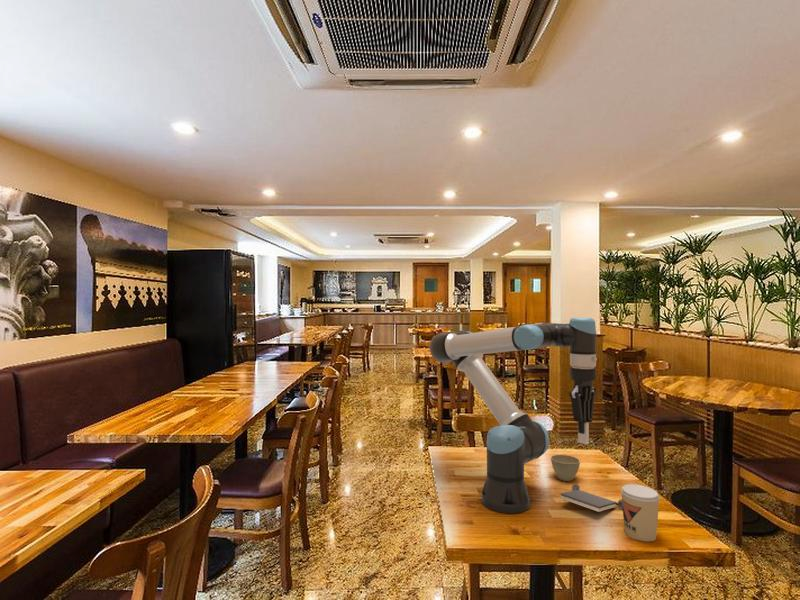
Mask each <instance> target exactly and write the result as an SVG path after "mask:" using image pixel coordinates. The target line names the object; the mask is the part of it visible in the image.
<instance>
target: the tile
mask: <svg viewBox="0 0 800 600" xmlns="http://www.w3.org/2000/svg"><path fill="white" fill-rule="evenodd" d="M560 499H561V500H564V501H567V502H570V503H573V504H576V505H578V506H581V507H584V508H587V509H590V510H592V511H595V512H598V513H599V512H602V511H606V510H609V509H614V508H616V506H617V505H616V503H617V502H616V501H614V500H611V499H609V498H608V499H607V498H605V497H602V496H599V495H596V494H593V493H589V492H588V491H583V490H581V489H580V490H575V491H572V490H570V491H567V492H561V493H560Z"/></svg>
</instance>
